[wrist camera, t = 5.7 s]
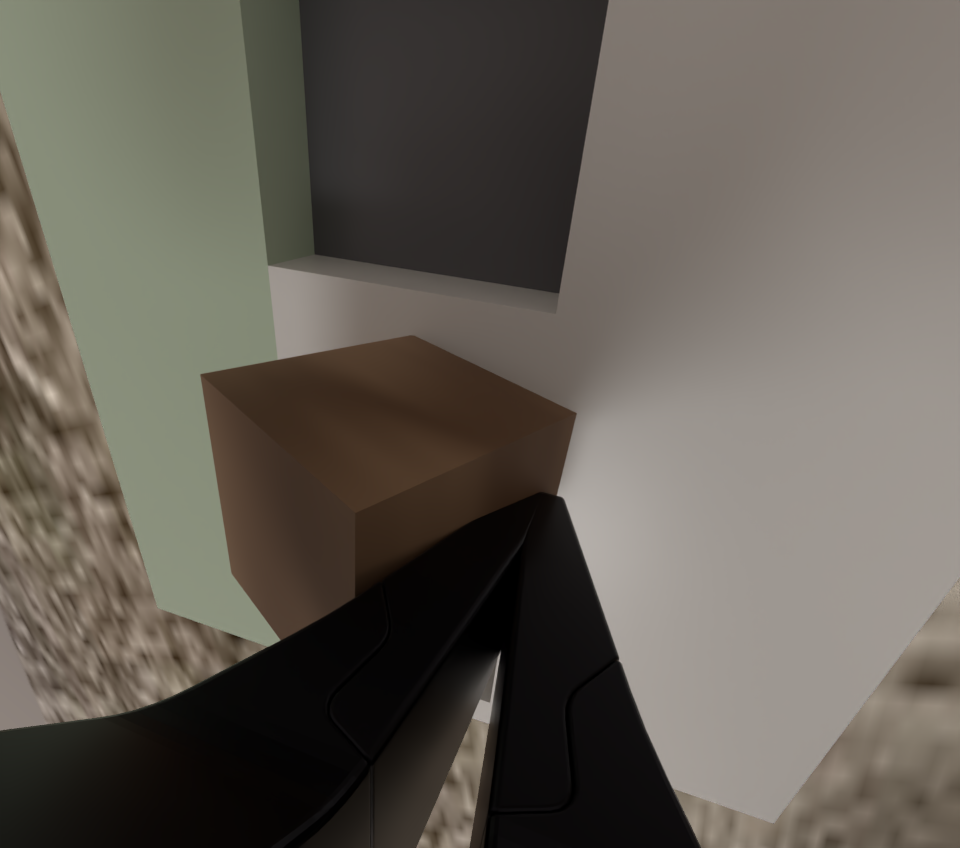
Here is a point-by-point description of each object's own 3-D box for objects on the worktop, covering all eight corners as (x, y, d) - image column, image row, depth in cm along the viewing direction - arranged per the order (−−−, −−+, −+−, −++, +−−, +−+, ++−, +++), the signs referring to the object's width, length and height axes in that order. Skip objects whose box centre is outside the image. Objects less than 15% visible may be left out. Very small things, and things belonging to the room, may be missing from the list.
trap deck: (1326, -147, 6) (1604, -277, 4) (758, 748, 15) (774, 824, 13) (40, -122, 10) (-84, -184, 8) (201, 569, 19) (157, 608, 17)
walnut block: (576, 413, 8) (354, 512, 5) (532, 596, 10) (354, 740, 7) (412, 334, 10) (200, 374, 7) (403, 494, 12) (231, 573, 9)
